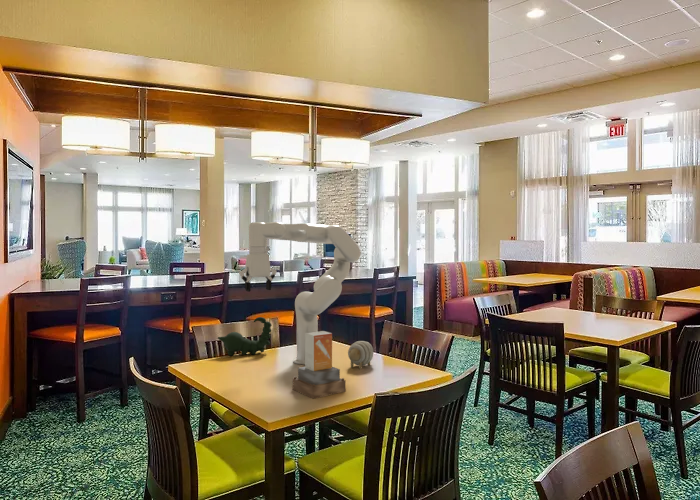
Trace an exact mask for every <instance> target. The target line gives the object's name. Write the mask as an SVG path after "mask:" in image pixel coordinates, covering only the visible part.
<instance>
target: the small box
mask: <svg viewBox="0 0 700 500" xmlns="http://www.w3.org/2000/svg"><path fill="white" fill-rule="evenodd" d="M304 367H305V368H307V369H309V370H312V371H318V370H324V369H331V368H332V367H333V333H332V332H330V331H325V330H320V331H318V332H311V333H305V364H304Z"/></svg>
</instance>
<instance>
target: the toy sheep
mask: <svg viewBox="0 0 700 500" xmlns="http://www.w3.org/2000/svg"><path fill="white" fill-rule="evenodd" d="M347 356H348V359H349V360H350V369H353V368H354V365H356V366H358V369H359V370H362V369H363V367H364V366H366V365H367V366H370V365H371V362H372V360H373V358H374V347H373V346H372V344H371V343H370V342H368V341H365V340H358V341H355V342H354V343H352V344H351V345H350V346H349V348H348V350H347Z"/></svg>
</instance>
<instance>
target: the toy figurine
mask: <svg viewBox="0 0 700 500" xmlns="http://www.w3.org/2000/svg"><path fill="white" fill-rule="evenodd" d="M256 322H260V323H262V324H263V327H262V333H261V334H260V337H259V339H257V340H254V339H253V340H250V339H249V338H246V337H245V338H244V336H243V335H242V334H241V333H239V332H238V331H231V332H229V333H228V334H227V335H225V336H218V337H217V339H218V340H219V341H221V342H222V343H223V345H224V348H225V349H226V350H227V355H228V356H234V354H235V353H236V352H241V354H242V355H243V356H246V355H247V354H248V353H249V354H251V355H252V356H255V355H256V353H257V352H261V353H264V351H265V346H270V345H271V342H270V340H269V339H271V338H272V336H271V335H270V333H271V332H272V329H271V327H272V325H273V324H272V323H271V321H267V320H266V318H265V317H262V316H259V317H256V318H255V319H253V323H256Z"/></svg>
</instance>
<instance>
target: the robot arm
mask: <svg viewBox="0 0 700 500" xmlns="http://www.w3.org/2000/svg"><path fill="white" fill-rule="evenodd" d="M267 239H269V240H277V241H291V242H297V243H311V244H323V245H324V244H325V245H333V246H334V247H335V248H334V250H333V257H334V258H333V263H332V265H331V266H330V267H329V268H328V270H326V271H325V272H324V273H323V274H322V275H321V276H320V277H318V278H317V279H316V281H315V282H314V283H313V292H312V291H307V290H306V291H301V292H299V293H298V295H296V298H295V301H294V308H295V309H294V310H295V315H296V357H294V358H293V360H292V361H293V363H294V364H297V365H305V333H311V332H319V331H318V330H319V329H318V328H319V327H318V325H319V324H318V323H319V321H318V315H320V314H321V313H323V312H324V311H325V310H326V309H328V307H330V306H331V304H333V303H334V302H335V301H336V300H337V299H338V298H339V297H340V296H341V293H342V289H343V286H342V285H343V284H342V282H343V281H345V280H346V278H347V277H348V276H349V274H350V273H349V272H350V268H351V263H355V262H357V261H358V260H359V259H360V258H361V254H362V253H361V249H360V247H359V245H358V244H357V243H356V241H355V240H354V239H353V238H352V237H351V235H349V234H348V232H347V231H346V230H345V229H344V228H342V226H340V225H337V224H333V225H332V224H331V225H329V224H328V225H326V224H316V223H315V224H314V223H282V222H280V221H271V222H263V221H262V222H261V221H257V222H256V221H253V222H250V223H249V225H248V245H249V246H248V253H247V255H246V259H245V268H244V269H242V270H241V271H239V272H238V274H239V276H240V278H241V280H243V282H244V289H245V292H251V282H250V281H251V279H253V278H264V279H266V280H265V289H266V290H267V291H271V290H272V282H273V280H274V278H275V277H276V274H277V269H274V268H273V267H271V262H270V257H269V253H268V252H270V248H269V247H268V246H267V245H268V240H267Z"/></svg>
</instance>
